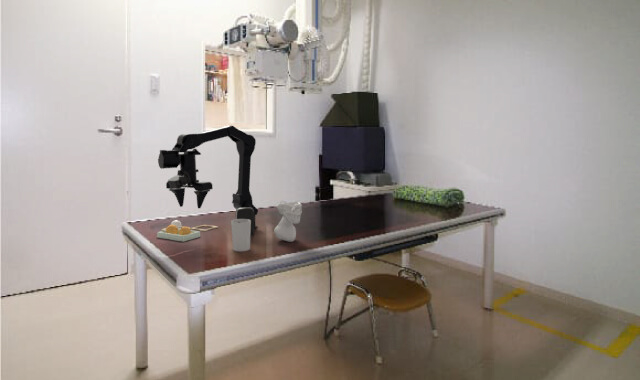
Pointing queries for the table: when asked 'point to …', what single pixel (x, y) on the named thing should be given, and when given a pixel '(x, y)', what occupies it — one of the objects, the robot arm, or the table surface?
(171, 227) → the orange ball
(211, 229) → the collar
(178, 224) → the white ball
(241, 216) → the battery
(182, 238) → the green dish
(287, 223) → the white figurine
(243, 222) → the drinking glass
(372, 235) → the table surface
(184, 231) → the orange ball
